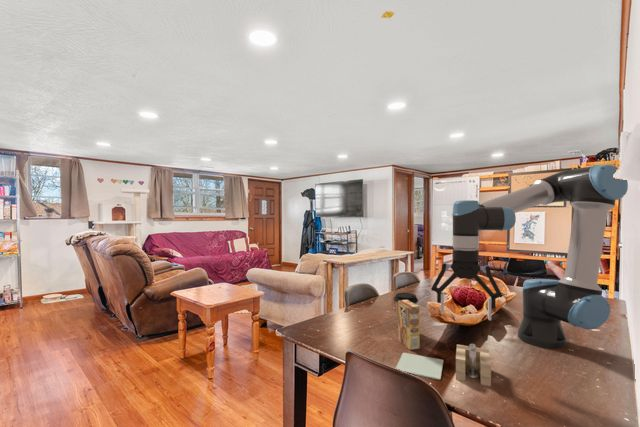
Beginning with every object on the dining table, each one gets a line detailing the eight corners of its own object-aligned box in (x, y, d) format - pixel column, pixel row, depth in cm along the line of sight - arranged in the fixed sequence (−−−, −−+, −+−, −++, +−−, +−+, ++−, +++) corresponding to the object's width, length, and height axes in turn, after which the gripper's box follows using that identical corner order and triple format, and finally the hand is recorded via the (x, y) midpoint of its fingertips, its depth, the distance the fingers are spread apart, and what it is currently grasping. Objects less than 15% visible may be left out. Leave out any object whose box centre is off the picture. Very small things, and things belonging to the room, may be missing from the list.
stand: (478, 374, 94) (478, 343, 94) (478, 379, 91) (478, 346, 91) (467, 372, 95) (467, 341, 95) (467, 377, 92) (467, 345, 92)
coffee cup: (419, 337, 122) (419, 298, 122) (394, 335, 124) (394, 297, 124) (416, 328, 131) (416, 292, 131) (393, 327, 133) (393, 291, 133)
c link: (456, 362, 101) (456, 344, 101) (488, 368, 97) (488, 349, 97) (455, 379, 91) (455, 358, 91) (491, 386, 87) (491, 364, 87)
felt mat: (443, 361, 102) (443, 359, 102) (440, 380, 91) (440, 378, 91) (402, 353, 108) (402, 352, 108) (395, 370, 96) (395, 369, 96)
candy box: (420, 349, 112) (420, 306, 112) (409, 350, 111) (409, 306, 111) (407, 339, 120) (407, 299, 120) (397, 340, 119) (397, 300, 119)
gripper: (509, 249, 98) (509, 317, 98) (425, 246, 108) (425, 307, 108) (512, 252, 91) (512, 325, 91) (423, 248, 101) (422, 314, 101)
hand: (465, 316), depth 100 cm, fingers open, 13 cm apart
